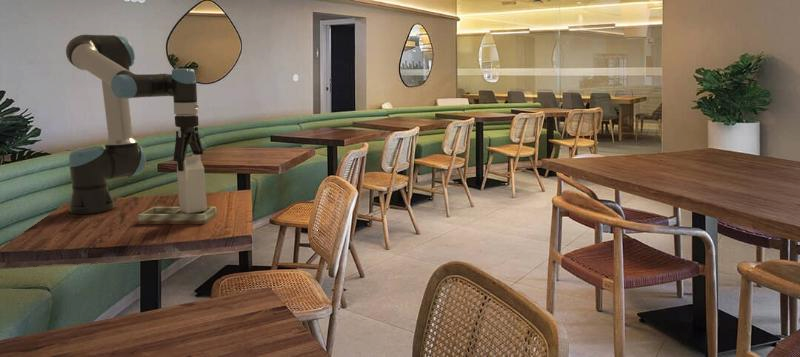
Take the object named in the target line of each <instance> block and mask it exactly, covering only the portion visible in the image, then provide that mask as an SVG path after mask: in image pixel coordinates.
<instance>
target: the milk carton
mask: <svg viewBox="0 0 800 357" xmlns="http://www.w3.org/2000/svg"><path fill="white" fill-rule="evenodd" d="M200 157H201V155H200V156H192V155H191V156H185V160H184V161H186V171H187V180H178V170H177V169H176V175H177V177H176V179H177V187H178V190H177V191H178V201H179V207H180V210H181V211H183V212H185V213H194V212H200V211H206V210H207V207H208V202H207V188H206V175H205V167H204V164H203V162H202V160H200Z"/></svg>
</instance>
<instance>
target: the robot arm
mask: <svg viewBox="0 0 800 357" xmlns="http://www.w3.org/2000/svg"><path fill="white" fill-rule="evenodd" d="M65 54H66V55H65V56H66V58H67V60H68V61H69V62H70V63H71V65H73V66H74V67H75V68H76V69H78V70H82V71H87V72H88V73H90V74H92V75H93V76H94V77H96V78H98V79H100V80H101V86H102V95H103V103H104V104H103V105H104V111H105V119H106V127H107V128H106V129H107V136H108V140H107V141H106V142H105V143H104V147H103V146H100V145H95V146H94V145H93V146H87V147H83V148H78V149H75V150H73V151H71V152H70V153H69V155H68V157H69V158H68V160H69V162H68V166H69V170H70V179H71V180H70V181H71V186H72V188H71V189H72V194H71V197H70V202H69V206H68V207H69V208H68V210H69V213H71V214H74V215H90V214H98V213H102V212H109V211H111V210H113V209H115V201H114V199H113V196H112V194H111V193H110V191H109V189H108V183H107V182H108V181H107V180H114V179H120V178H127V177H128V178H130V177H133V176H137V175H139V174H141V173H142V172H143V171H144V170H145V167H146V162H147V156H146V151H144V150H145V149H144V148H143V146H141V145H139V143H138V140H136V139H135V138H134V135H133V128H132V127H133V126H132V119H131V118H132V117H131V111H130V110H131V108H130V102H129V101H130V100H129V99H136V98H152V97H153V98H154V97H155V98H157V97H158V98H159V97H172V98H173V113H174V115H175V116H174V126H175V127H177V128H179V130H176V131H175V144H174V153H173V162H176V171H177V170H178V179H177V181H178V180H187V171H186V161H184V160H185V157H187V156H186V155H187V151H188V148H189V147H190V149H191V151H192V154H191V157H192V156H200V160H201V155H203V154H204V151H203V146H202V142H201V138H200V134H199V124H200V123H199V116H198V108H200V106H199V105H198V94H197V93H198V90H197V79H196V72H195V71H196V70H195V69H193V68H172V70H171V74H170V73H157V74H156V73H154V74H153V73H152V74H146V73H145V74H142V73H141V74H137V73H134V72H132V71H130V70H131V69H130V68H131V67H132V66H133V65H134V63H135V59H136V57H135V56H136V55H135V51H134V47H133V45H132V43H131V42H130V41H129V40H128V39H127V38H126V37H124V36H123V35H122V36H120V35H111V34H110V35H109V34H105V35H103V34H80V35H76V36H75V37H73V38H72V39H70V40H69V42H68V43H67V45H66V48H65ZM201 161H202V160H201Z"/></svg>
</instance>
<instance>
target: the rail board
mask: <svg viewBox="0 0 800 357" xmlns="http://www.w3.org/2000/svg"><path fill="white" fill-rule="evenodd" d="M217 210H218V209H217V206H207V210H206V211H200V212H194V213H185V212H183V211H181V210H180V206H152V207H150V208H149V209H147V210H145V211H143V212H141V213H139V214H137V222H138V225H199V224H200V225H205V224H207V223H208V222H210V221H211V220H212V219H214V218H216V217H217V216H218V211H217Z"/></svg>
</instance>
